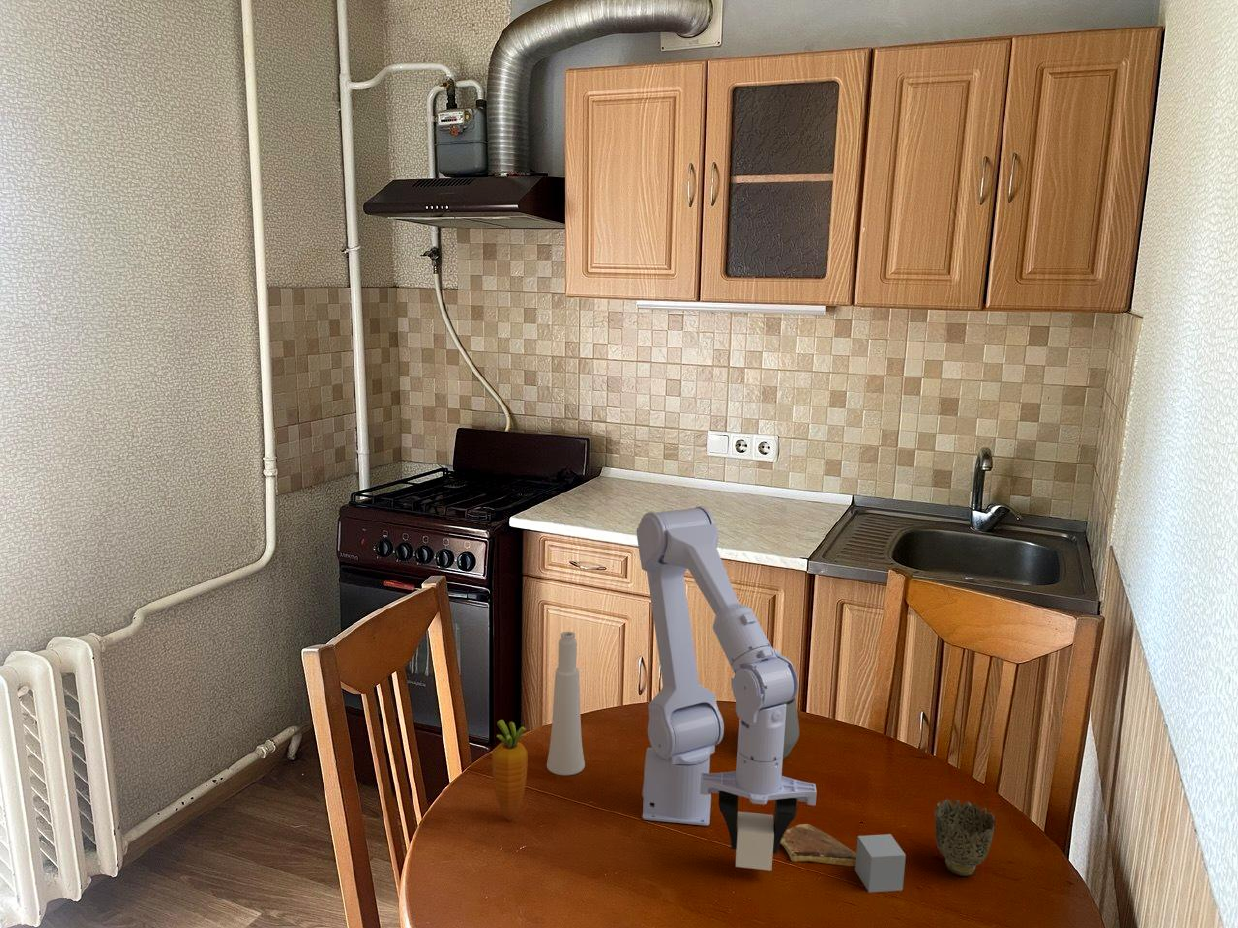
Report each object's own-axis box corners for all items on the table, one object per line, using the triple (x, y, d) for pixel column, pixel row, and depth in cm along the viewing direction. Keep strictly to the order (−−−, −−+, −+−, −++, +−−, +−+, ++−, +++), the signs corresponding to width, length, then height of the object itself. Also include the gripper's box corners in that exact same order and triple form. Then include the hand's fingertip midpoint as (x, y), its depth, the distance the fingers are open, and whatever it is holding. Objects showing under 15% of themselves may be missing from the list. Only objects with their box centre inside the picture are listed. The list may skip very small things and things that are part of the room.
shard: (868, 870, 118) (870, 858, 118) (830, 891, 114) (831, 879, 113) (806, 830, 127) (807, 818, 126) (768, 848, 122) (769, 836, 122)
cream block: (735, 866, 114) (737, 831, 113) (735, 845, 119) (737, 811, 118) (771, 870, 114) (773, 834, 113) (770, 849, 118) (772, 814, 117)
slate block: (868, 892, 113) (871, 857, 112) (854, 870, 117) (857, 835, 117) (902, 890, 114) (905, 854, 113) (887, 868, 118) (890, 833, 117)
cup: (802, 768, 143) (806, 709, 141) (743, 766, 143) (747, 708, 141) (791, 739, 152) (795, 684, 150) (736, 737, 152) (739, 682, 150)
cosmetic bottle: (574, 752, 146) (576, 624, 142) (591, 770, 141) (594, 637, 137) (540, 761, 143) (541, 630, 139) (557, 779, 138) (558, 643, 134)
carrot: (534, 820, 127) (535, 721, 124) (507, 834, 123) (507, 733, 120) (511, 806, 130) (512, 709, 127) (484, 819, 126) (484, 721, 124)
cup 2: (983, 894, 113) (990, 837, 112) (923, 874, 117) (929, 818, 115) (994, 864, 119) (1000, 809, 118) (937, 845, 123) (942, 792, 122)
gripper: (701, 760, 110) (696, 859, 113) (821, 772, 109) (813, 872, 111) (703, 733, 117) (698, 827, 120) (816, 743, 116) (809, 838, 118)
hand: (754, 846), depth 116 cm, fingers closed on cream block, 4 cm apart
